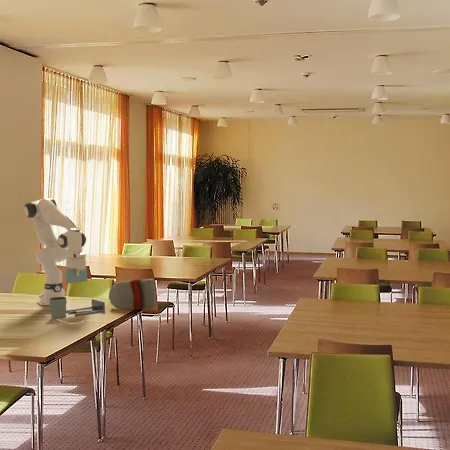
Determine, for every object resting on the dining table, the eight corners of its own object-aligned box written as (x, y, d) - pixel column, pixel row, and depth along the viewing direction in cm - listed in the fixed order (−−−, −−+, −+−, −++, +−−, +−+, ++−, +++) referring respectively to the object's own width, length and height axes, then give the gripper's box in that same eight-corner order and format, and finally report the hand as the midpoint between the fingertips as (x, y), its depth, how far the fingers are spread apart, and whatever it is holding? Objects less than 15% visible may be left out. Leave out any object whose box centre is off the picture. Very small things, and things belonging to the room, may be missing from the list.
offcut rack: (64, 313, 413) (64, 302, 412) (93, 309, 426) (93, 298, 425) (75, 317, 401) (75, 306, 401) (105, 312, 414) (104, 301, 414)
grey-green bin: (70, 316, 404) (69, 297, 403) (59, 319, 395) (58, 300, 394) (57, 315, 409) (57, 296, 408) (46, 318, 400) (45, 298, 399)
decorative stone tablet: (154, 277, 425) (109, 281, 428) (152, 278, 418) (106, 283, 422) (157, 306, 426) (112, 310, 429) (155, 308, 420) (109, 312, 423)
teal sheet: (65, 283, 414) (64, 269, 414) (85, 280, 423) (84, 266, 423) (66, 283, 413) (66, 269, 412) (87, 281, 421) (86, 267, 421)
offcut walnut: (75, 313, 410) (75, 310, 410) (92, 311, 414) (91, 309, 414) (76, 314, 407) (76, 311, 407) (93, 312, 410) (93, 310, 410)
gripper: (63, 253, 423) (63, 274, 424) (78, 255, 407) (78, 277, 408) (72, 252, 427) (72, 273, 428) (87, 254, 411) (88, 276, 412)
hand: (75, 275), depth 418 cm, fingers closed on teal sheet, 2 cm apart
